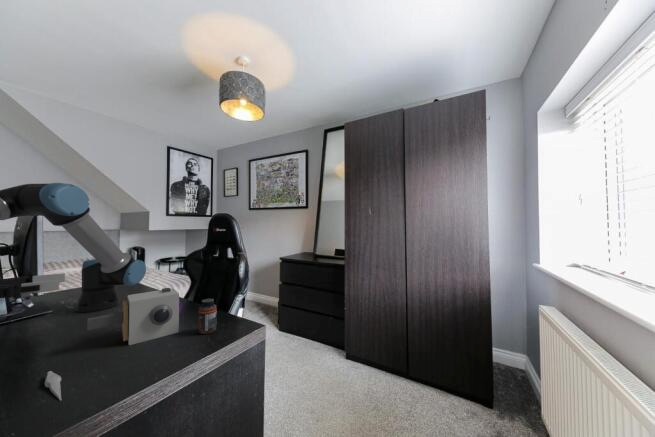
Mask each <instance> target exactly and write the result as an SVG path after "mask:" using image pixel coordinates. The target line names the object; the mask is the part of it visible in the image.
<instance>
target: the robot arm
mask: <svg viewBox="0 0 655 437" xmlns="http://www.w3.org/2000/svg"><path fill="white" fill-rule="evenodd" d="M89 201H90V199H89V195H88V194H87V193H86V191H84V189H82V188H81V187H79V186H77V185H74V184H71V183H63V182H51V183H27V184H26V183H24V184H20V185H16V186H12V187H9V188H8V187H7V188H4V189H0V221H6V220H10V219H13V218H21V217H29V216H33V217H34V216H35V217H36V216H37V217H40V216H39V215H41V216H43V217H44V218H45V219H46V220H47V221H48V222H49V223H51V224H52V225H53V226H55V227H62V228H63V229H64V230H65V231H66V232H67V233H68V234H69V235H70V236H71V237H72V238H74V240H75V241H77V243H79V245H80V246H81V247H83V248H84V250H86V251H87V253H89V255H91V256H92V257H93V258H94V259H87V260H84V261H83V262H82V266H81V293H80V296H79V298H78V300H77V302H76V304H75V312H77V313H90V312H97V311H103V310H106V309H110V308H115V307H117V306H118V305H119V304H120V297H119V295H118V292H117V290H116V286H126V287H127V286H128V287H129V286H135V285H138V284H139V283H140V282H142V280H143V279H144V278H145V276H146V273H147V265H146V263H145V262H144V261H143V260H140V259H134V258H133V256H132V255H131V254H130V253H128V252H123V251H122V250H121V249H120V248H119V246H118V245H117V244H116V243H115V242H114V241H113V240H112V238H111V237H110V236H109V235H108V234H107V233H106V232H105V231H104V230H103V228H101V226H100V225H99V224H98V223H97V222H96V221H95V220H94V218H93V217H92V216H91V215H90V212H91V208H90V202H89ZM65 280H66V273H64V272H63V273H54V274H53V273H52V274H41V275H34V273H28V275H25V276H15V277H9V278H7V277H6V278H0V299H11V298H13V300H15V299H20V298H21V295H22V296H23V295H30V294H38V293H47V292H53V291H54V292H55V291H56V292H57V291H60V283H65V282H66V281H65Z"/></svg>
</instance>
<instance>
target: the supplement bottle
mask: <svg viewBox="0 0 655 437" xmlns="http://www.w3.org/2000/svg"><path fill="white" fill-rule="evenodd" d="M214 303H215V300H214V298H206V299H202V300H201V306H199V307H198V323H197V324H198V326H197V328H198V333H199V334H201V335H206V334H207V335H208V334H211V333H214V332H215V331H216V330H217V320H218V319H217V313H218V312H217V309H218V308H217V305H216V304H214Z"/></svg>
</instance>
